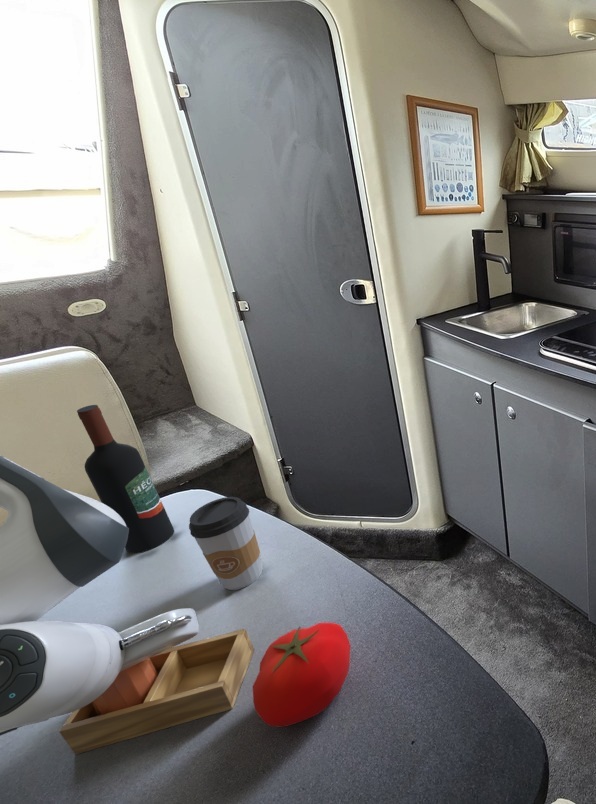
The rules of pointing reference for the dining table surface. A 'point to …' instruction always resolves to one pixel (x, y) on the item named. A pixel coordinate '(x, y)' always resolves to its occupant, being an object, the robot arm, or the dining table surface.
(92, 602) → the dining table surface
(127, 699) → the tumbler
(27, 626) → the robot arm
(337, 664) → the tomato
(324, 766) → the dining table surface
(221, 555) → the coffee cup
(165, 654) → the tray
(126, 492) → the wine bottle
